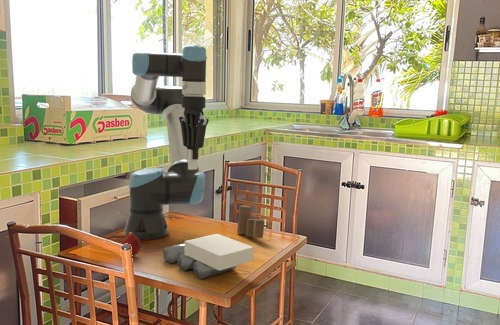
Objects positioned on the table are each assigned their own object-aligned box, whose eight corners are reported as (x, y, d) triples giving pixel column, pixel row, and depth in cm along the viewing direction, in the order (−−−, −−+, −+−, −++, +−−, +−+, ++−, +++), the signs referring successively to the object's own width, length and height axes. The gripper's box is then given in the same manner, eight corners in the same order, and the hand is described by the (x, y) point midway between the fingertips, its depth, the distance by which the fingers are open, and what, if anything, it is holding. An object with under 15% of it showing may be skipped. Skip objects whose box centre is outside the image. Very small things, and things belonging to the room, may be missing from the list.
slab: (184, 254, 138) (184, 241, 138) (217, 246, 146) (217, 233, 146) (219, 270, 127) (219, 256, 126) (252, 260, 135) (253, 247, 134)
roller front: (180, 273, 141) (175, 256, 142) (212, 264, 149) (207, 248, 150) (189, 268, 137) (183, 251, 139) (221, 259, 145) (216, 243, 147)
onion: (133, 252, 153) (132, 228, 152) (144, 256, 150) (144, 232, 149) (117, 257, 149) (117, 232, 148) (129, 261, 145) (129, 236, 144)
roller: (205, 278, 132) (195, 280, 135) (238, 268, 140) (228, 270, 143) (201, 260, 132) (191, 262, 136) (234, 251, 141) (224, 254, 144)
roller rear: (165, 264, 147) (162, 247, 147) (196, 256, 155) (194, 240, 155) (173, 263, 143) (170, 246, 143) (206, 255, 151) (203, 239, 151)
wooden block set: (267, 243, 168) (270, 214, 167) (243, 242, 166) (246, 212, 165) (255, 229, 185) (258, 203, 184) (233, 228, 183) (236, 201, 182)
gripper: (172, 94, 155) (171, 167, 158) (196, 96, 145) (195, 173, 149) (191, 95, 160) (190, 165, 163) (215, 96, 150) (214, 171, 154)
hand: (192, 169), depth 156 cm, fingers closed
